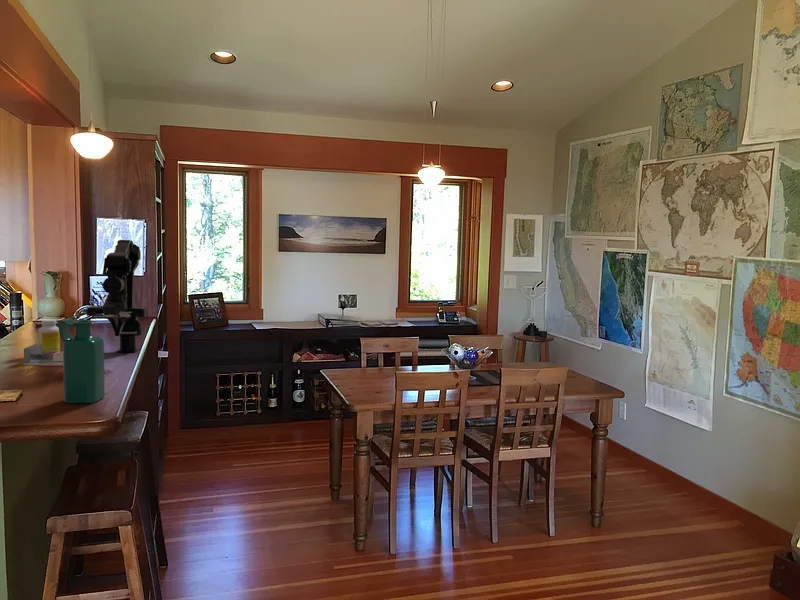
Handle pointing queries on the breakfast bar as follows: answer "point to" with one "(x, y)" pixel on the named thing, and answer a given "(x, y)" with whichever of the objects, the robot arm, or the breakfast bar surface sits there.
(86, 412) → the breakfast bar surface
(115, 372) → the breakfast bar surface
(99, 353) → the pitcher
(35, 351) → the track
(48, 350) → the supplement bottle
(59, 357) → the thick grey end plate
